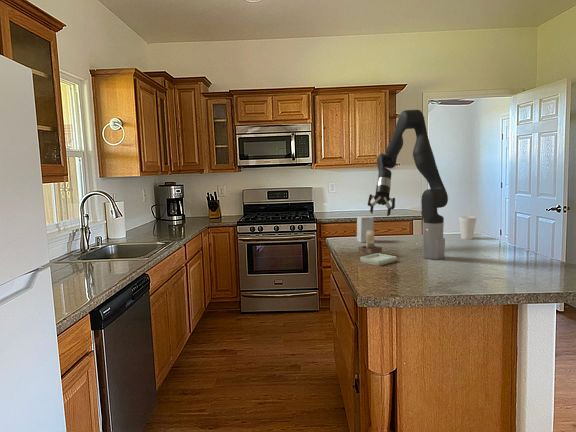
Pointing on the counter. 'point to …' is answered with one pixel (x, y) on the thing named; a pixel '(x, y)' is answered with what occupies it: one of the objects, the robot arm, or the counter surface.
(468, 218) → the foam cup
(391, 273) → the counter surface
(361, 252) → the box
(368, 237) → the dowel
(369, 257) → the tray
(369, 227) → the skincare box
